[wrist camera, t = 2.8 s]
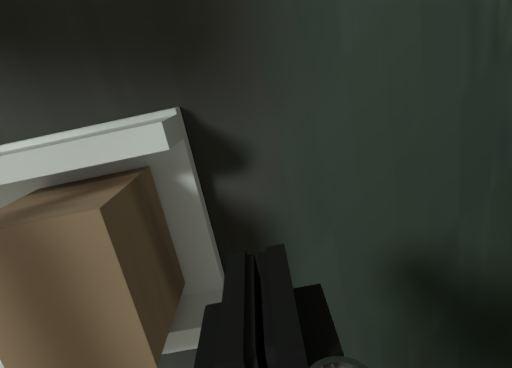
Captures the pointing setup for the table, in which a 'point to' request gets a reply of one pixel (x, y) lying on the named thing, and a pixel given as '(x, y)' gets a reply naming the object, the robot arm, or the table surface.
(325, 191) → the table surface
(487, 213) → the table surface
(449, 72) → the table surface
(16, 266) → the walnut block
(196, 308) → the chute
